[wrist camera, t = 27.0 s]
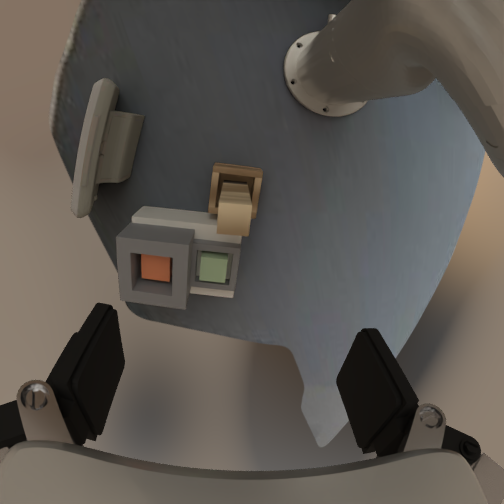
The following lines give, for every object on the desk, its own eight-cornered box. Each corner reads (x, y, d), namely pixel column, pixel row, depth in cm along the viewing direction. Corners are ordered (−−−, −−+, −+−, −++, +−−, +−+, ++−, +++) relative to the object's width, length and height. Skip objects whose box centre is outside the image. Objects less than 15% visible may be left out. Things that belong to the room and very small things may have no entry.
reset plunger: (144, 246, 34) (141, 251, 32) (172, 249, 34) (170, 255, 33) (144, 272, 35) (141, 278, 34) (171, 275, 36) (169, 281, 34)
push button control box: (141, 205, 38) (115, 230, 29) (241, 216, 40) (244, 244, 31) (141, 268, 42) (120, 305, 33) (232, 279, 44) (232, 320, 35)
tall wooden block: (223, 179, 36) (218, 202, 26) (246, 181, 37) (252, 205, 26) (221, 202, 38) (216, 233, 27) (244, 203, 38) (248, 236, 27)
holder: (215, 162, 36) (213, 165, 33) (260, 168, 37) (263, 172, 34) (210, 205, 39) (207, 213, 36) (253, 211, 39) (255, 218, 36)
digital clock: (112, 79, 30) (75, 68, 21) (166, 100, 33) (141, 91, 23) (71, 182, 36) (30, 201, 26) (119, 206, 38) (86, 232, 28)
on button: (202, 250, 36) (201, 256, 34) (228, 252, 36) (227, 259, 34) (200, 272, 37) (199, 280, 35) (225, 275, 38) (224, 283, 36)
